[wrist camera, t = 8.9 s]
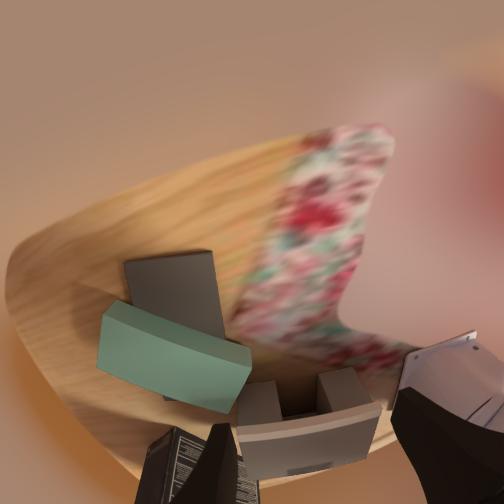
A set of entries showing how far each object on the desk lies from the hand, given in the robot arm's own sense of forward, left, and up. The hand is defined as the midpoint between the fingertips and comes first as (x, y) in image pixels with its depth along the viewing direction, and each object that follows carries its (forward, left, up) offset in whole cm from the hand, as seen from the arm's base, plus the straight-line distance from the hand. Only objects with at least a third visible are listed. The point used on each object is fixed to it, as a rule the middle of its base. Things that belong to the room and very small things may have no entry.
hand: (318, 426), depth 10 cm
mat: (+7, +1, -10) cm, 12 cm away
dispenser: (-1, +9, -10) cm, 13 cm away
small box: (+9, +17, -10) cm, 22 cm away
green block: (+7, -1, -8) cm, 11 cm away
